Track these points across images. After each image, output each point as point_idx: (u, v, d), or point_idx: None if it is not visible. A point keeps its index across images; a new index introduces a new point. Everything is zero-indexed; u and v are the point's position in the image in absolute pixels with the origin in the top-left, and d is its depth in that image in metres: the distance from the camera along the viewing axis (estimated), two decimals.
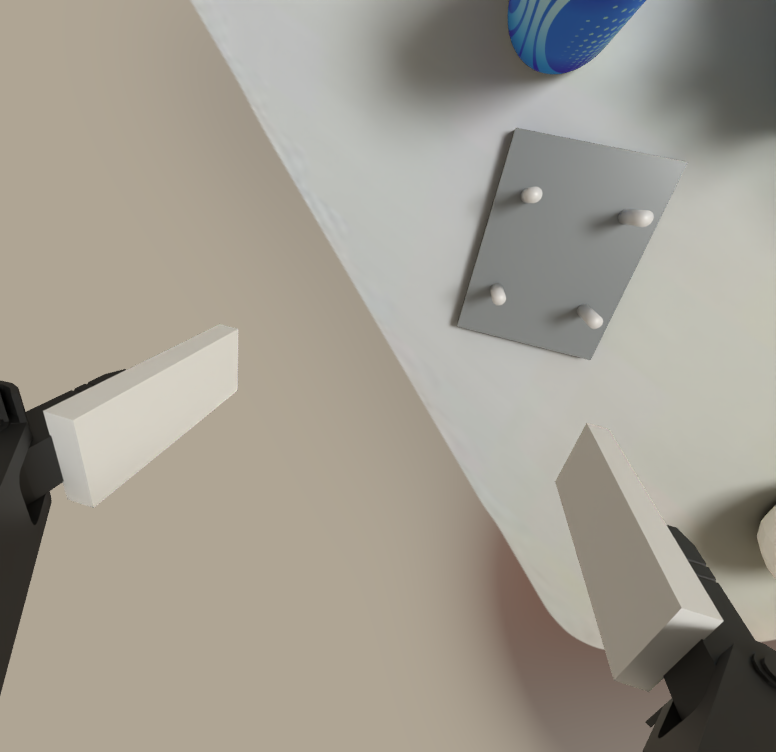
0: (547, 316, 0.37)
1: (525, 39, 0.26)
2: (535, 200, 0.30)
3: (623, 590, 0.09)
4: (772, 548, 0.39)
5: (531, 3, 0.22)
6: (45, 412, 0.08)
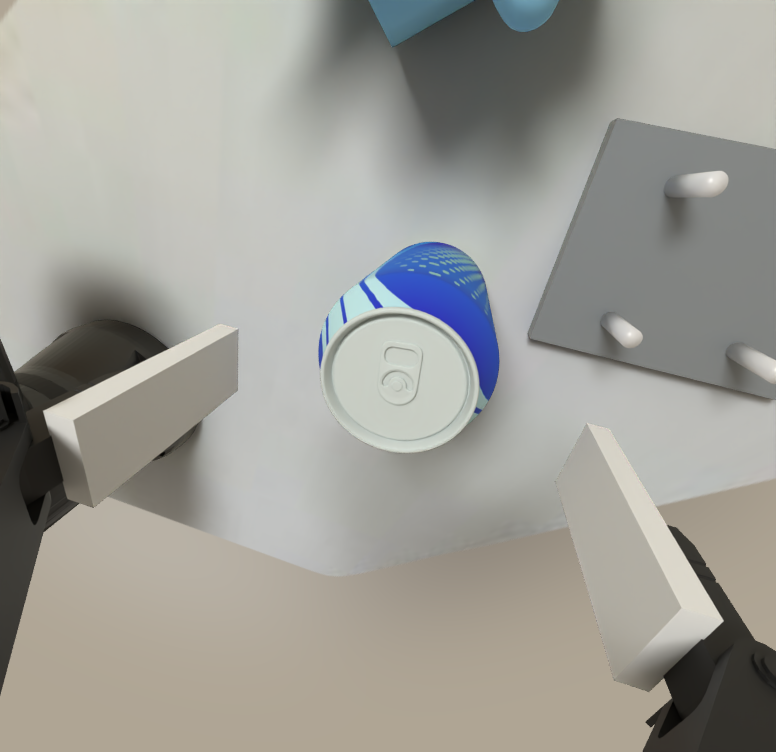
0: None
1: None
2: (639, 337, 0.23)
3: (623, 590, 0.09)
4: None
5: None
6: (45, 412, 0.08)
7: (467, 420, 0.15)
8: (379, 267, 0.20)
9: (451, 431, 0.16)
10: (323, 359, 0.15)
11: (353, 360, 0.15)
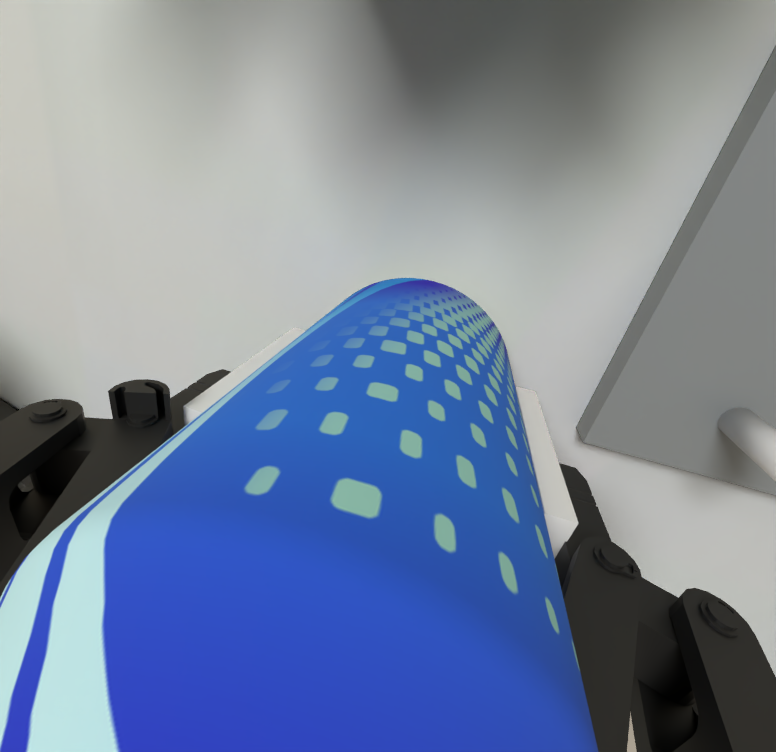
0: None
1: None
2: None
3: None
4: None
5: None
6: (185, 407, 0.09)
7: None
8: (261, 368, 0.08)
9: None
10: None
11: None
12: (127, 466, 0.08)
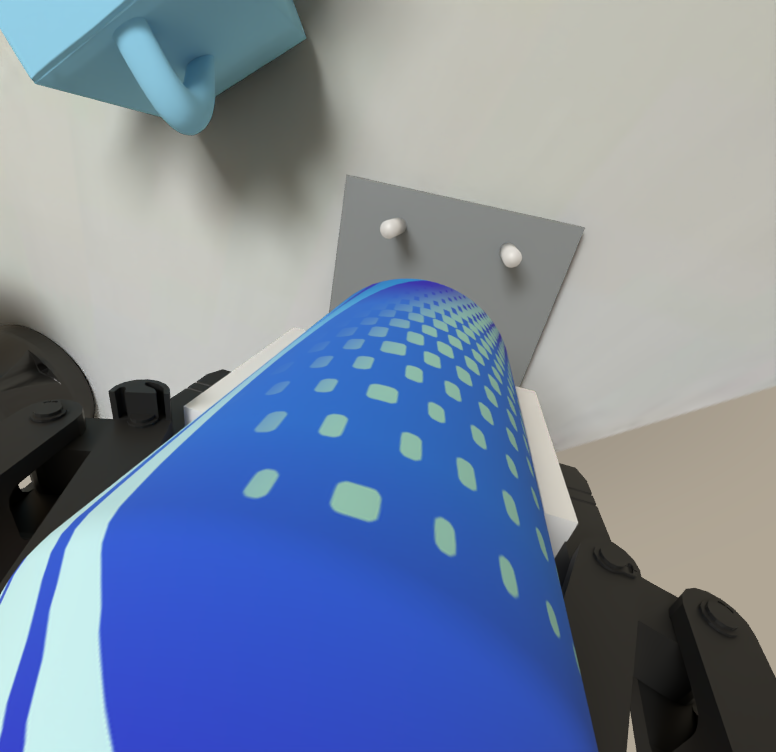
0: (512, 293, 0.30)
1: None
2: None
3: None
4: None
5: None
6: (186, 407, 0.09)
7: None
8: (260, 369, 0.08)
9: None
10: None
11: None
12: (127, 466, 0.08)
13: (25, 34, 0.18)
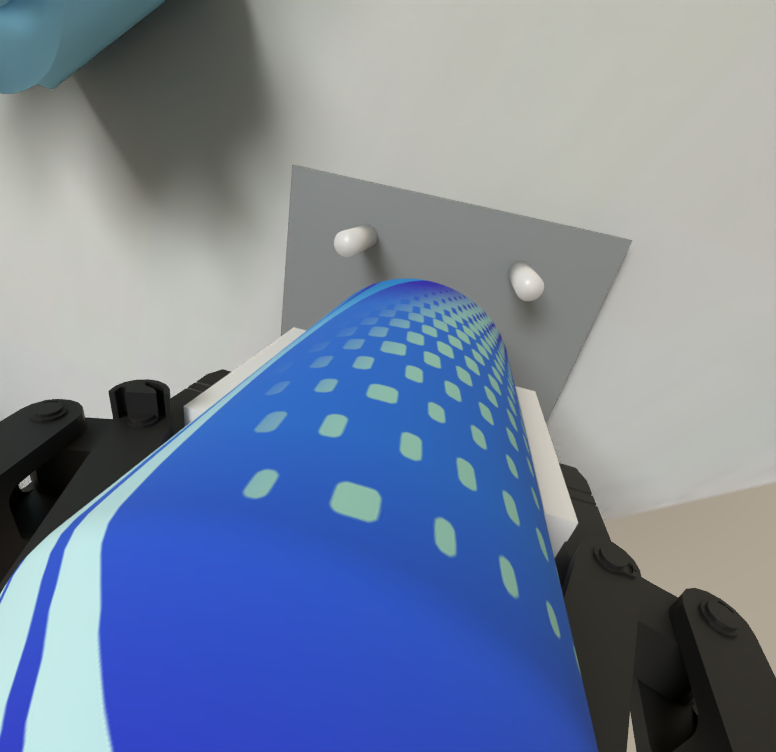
0: (525, 330, 0.21)
1: None
2: None
3: None
4: None
5: None
6: (186, 407, 0.09)
7: None
8: (260, 369, 0.08)
9: None
10: None
11: None
12: (127, 466, 0.08)
13: None
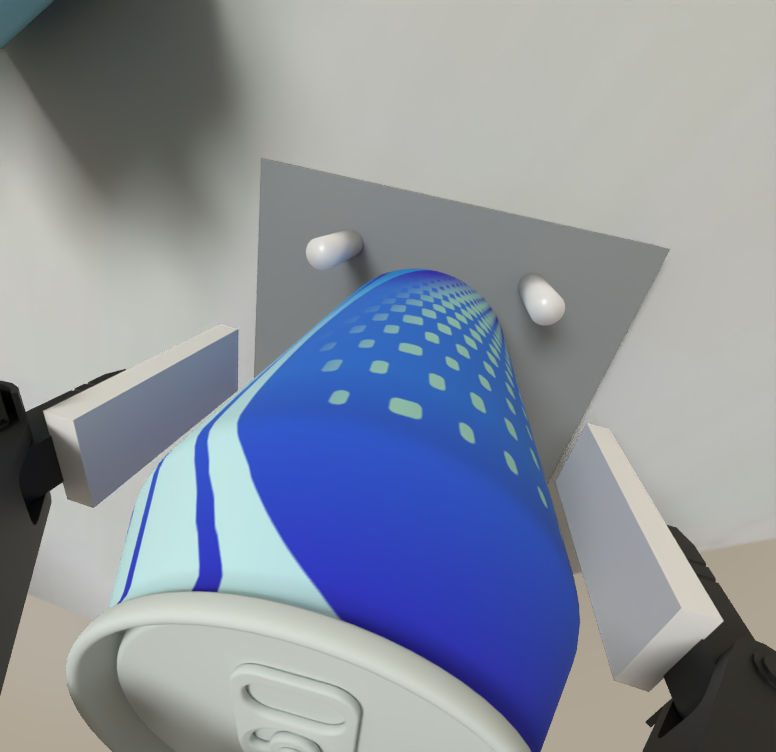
0: (537, 353, 0.18)
1: None
2: None
3: (623, 590, 0.09)
4: None
5: None
6: (45, 412, 0.08)
7: None
8: (303, 339, 0.10)
9: None
10: (69, 684, 0.05)
11: (163, 680, 0.05)
12: None
13: None
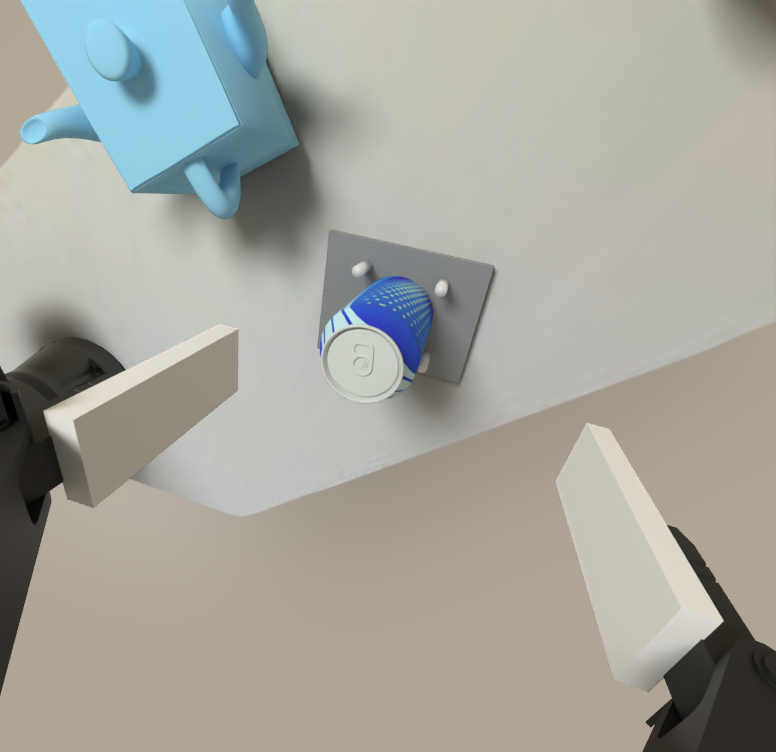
0: (449, 312, 0.42)
1: None
2: None
3: (623, 590, 0.09)
4: None
5: None
6: (45, 412, 0.08)
7: (399, 383, 0.29)
8: (355, 297, 0.33)
9: (392, 390, 0.29)
10: (322, 351, 0.29)
11: (338, 352, 0.29)
12: None
13: (129, 166, 0.30)
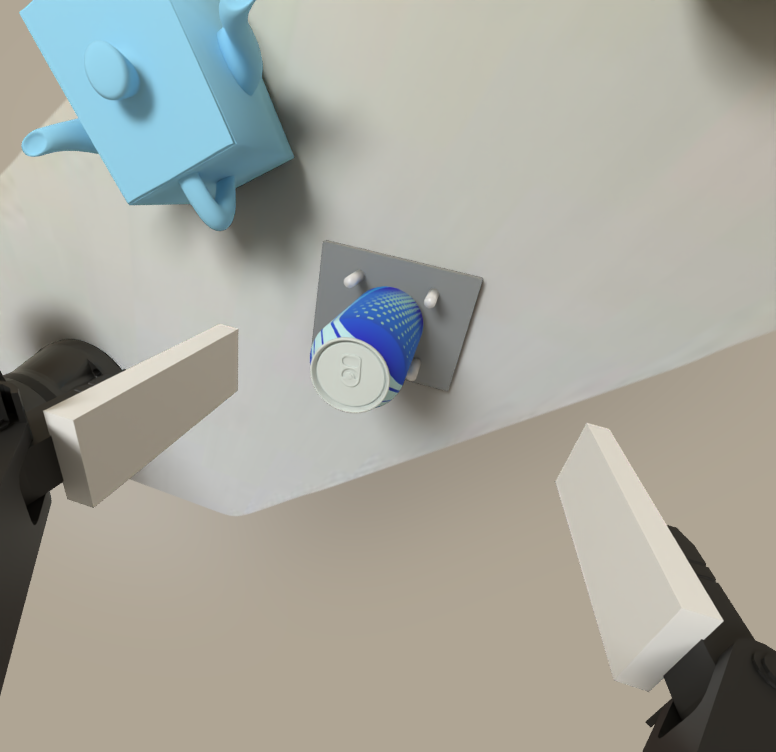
0: (439, 322, 0.43)
1: None
2: None
3: (623, 590, 0.09)
4: None
5: None
6: (45, 412, 0.08)
7: (385, 394, 0.30)
8: (346, 309, 0.34)
9: (378, 400, 0.30)
10: (311, 363, 0.30)
11: (327, 363, 0.30)
12: None
13: (127, 180, 0.31)
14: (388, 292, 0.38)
